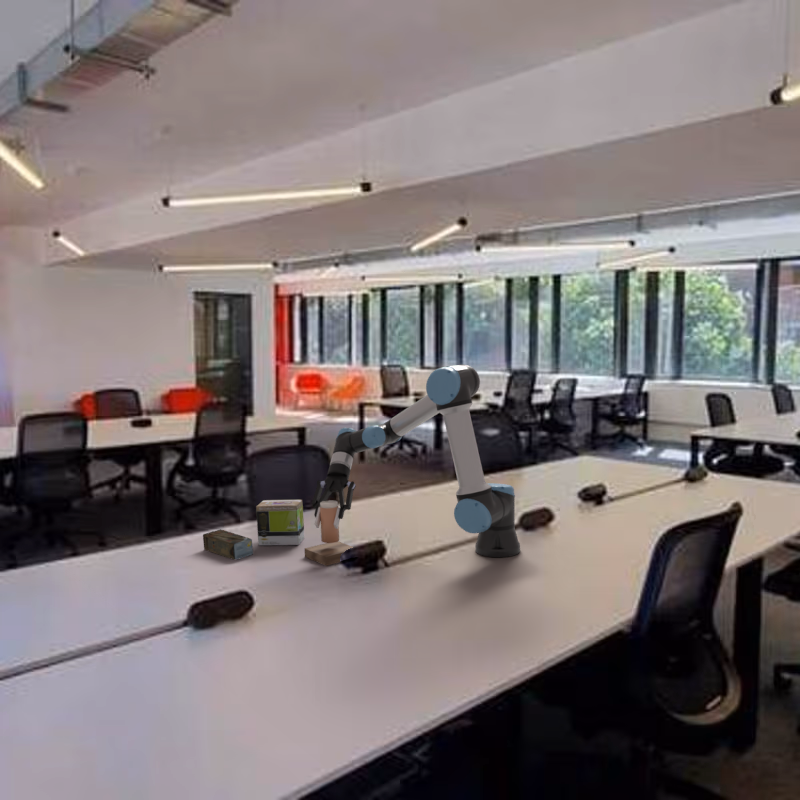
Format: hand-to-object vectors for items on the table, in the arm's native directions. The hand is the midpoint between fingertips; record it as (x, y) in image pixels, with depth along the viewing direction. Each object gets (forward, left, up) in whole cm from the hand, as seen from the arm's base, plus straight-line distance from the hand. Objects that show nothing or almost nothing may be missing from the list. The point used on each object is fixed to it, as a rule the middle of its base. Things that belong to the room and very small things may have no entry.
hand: (326, 526), depth 258 cm
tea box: (+30, 0, -12) cm, 32 cm away
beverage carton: (+32, +20, -12) cm, 40 cm away
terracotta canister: (+2, -3, -6) cm, 7 cm away
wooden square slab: (+2, -3, -12) cm, 12 cm away
